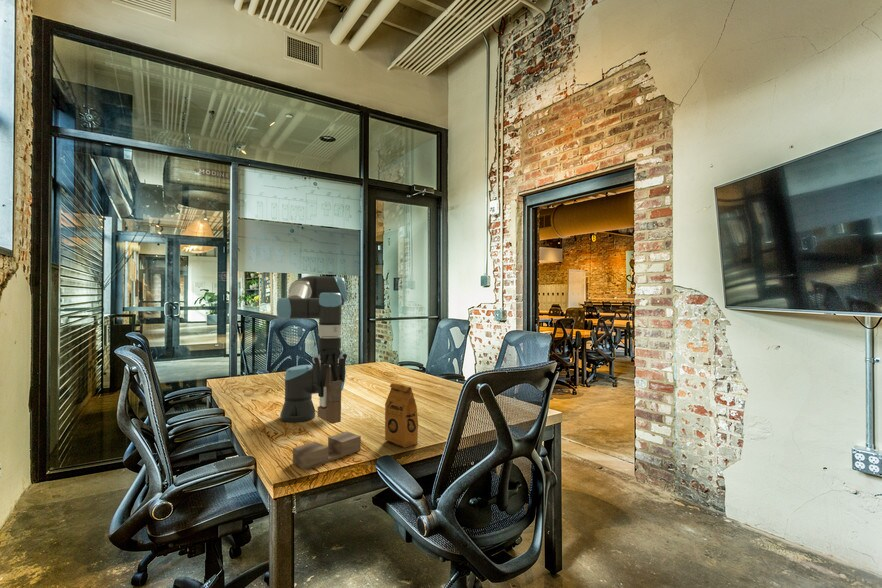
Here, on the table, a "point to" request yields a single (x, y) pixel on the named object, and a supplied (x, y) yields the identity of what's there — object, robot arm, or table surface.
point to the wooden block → (331, 401)
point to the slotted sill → (326, 450)
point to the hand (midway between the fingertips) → (328, 404)
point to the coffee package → (401, 416)
